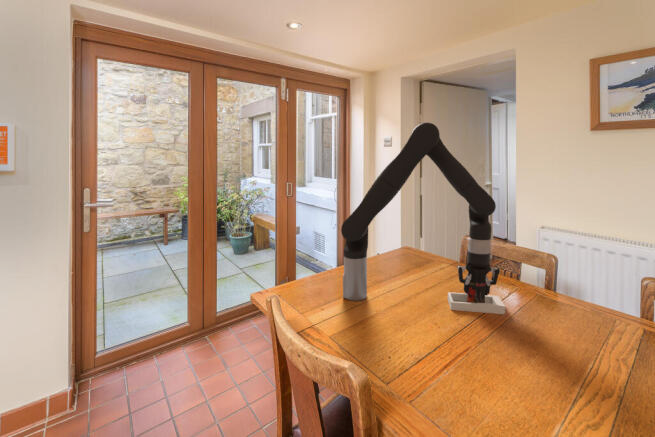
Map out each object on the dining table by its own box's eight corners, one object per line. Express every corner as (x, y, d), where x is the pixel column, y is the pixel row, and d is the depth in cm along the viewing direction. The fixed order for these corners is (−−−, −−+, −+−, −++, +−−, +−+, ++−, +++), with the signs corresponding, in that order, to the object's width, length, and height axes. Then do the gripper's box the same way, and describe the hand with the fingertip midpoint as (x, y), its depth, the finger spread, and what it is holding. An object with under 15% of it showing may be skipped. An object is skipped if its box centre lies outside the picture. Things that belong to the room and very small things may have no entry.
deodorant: (487, 309, 115) (490, 269, 113) (470, 309, 116) (473, 270, 113) (479, 301, 121) (482, 264, 118) (464, 302, 121) (466, 264, 119)
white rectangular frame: (450, 309, 116) (451, 302, 116) (447, 299, 125) (447, 292, 124) (504, 314, 112) (505, 306, 112) (497, 303, 121) (498, 295, 120)
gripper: (459, 252, 113) (457, 296, 116) (504, 254, 109) (500, 299, 112) (456, 246, 120) (454, 288, 123) (498, 248, 116) (494, 291, 119)
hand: (476, 293), depth 118 cm, fingers closed on deodorant, 6 cm apart
